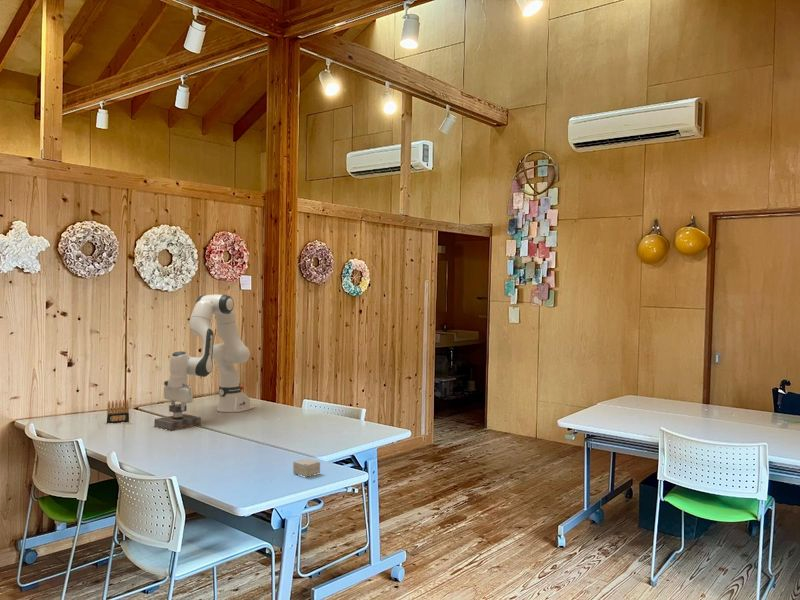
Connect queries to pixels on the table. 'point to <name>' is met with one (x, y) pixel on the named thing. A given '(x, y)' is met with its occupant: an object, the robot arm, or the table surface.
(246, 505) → the table surface
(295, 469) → the small box
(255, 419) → the table surface
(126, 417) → the ammunition clip
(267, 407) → the table surface
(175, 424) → the socket board
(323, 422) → the table surface
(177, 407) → the plug
